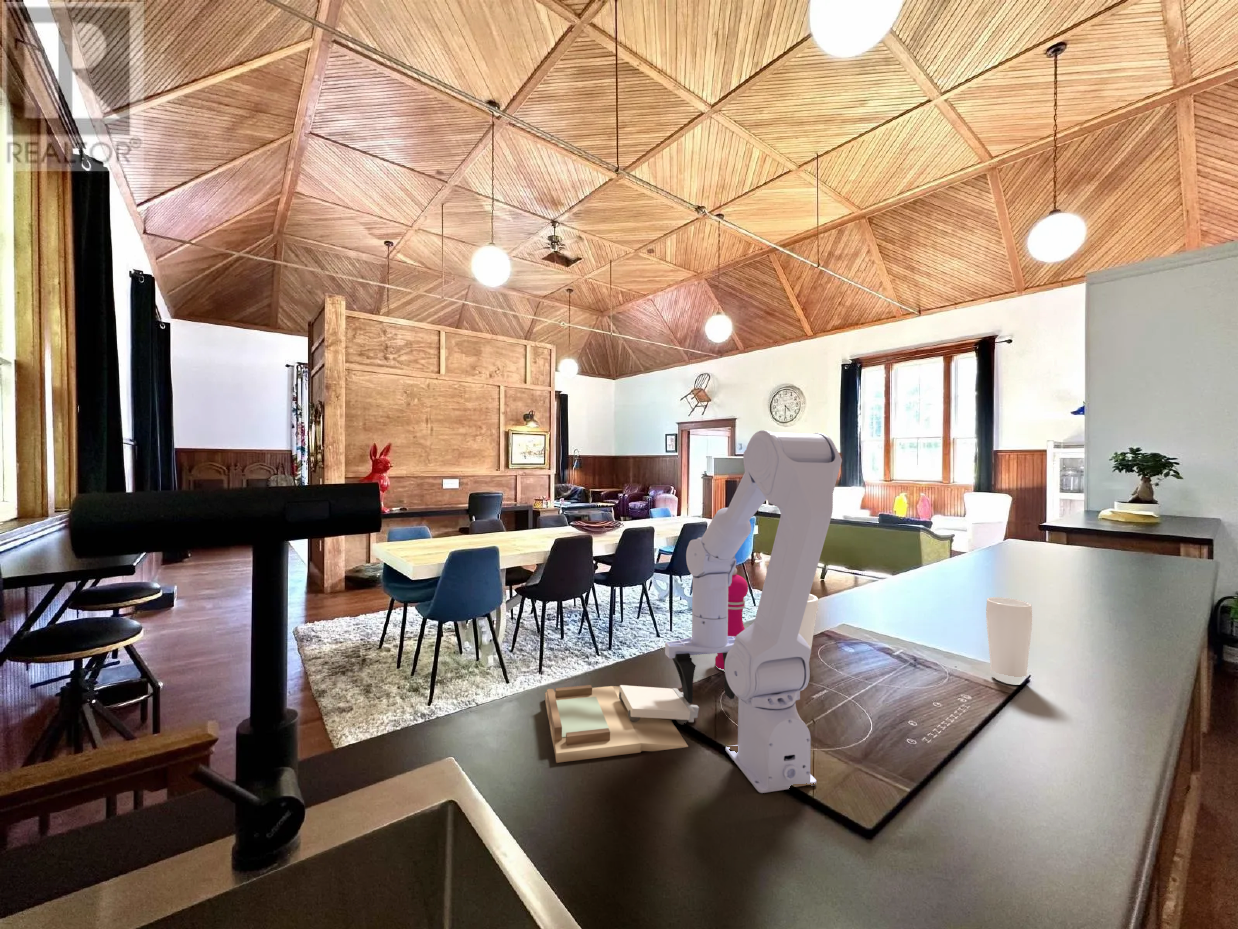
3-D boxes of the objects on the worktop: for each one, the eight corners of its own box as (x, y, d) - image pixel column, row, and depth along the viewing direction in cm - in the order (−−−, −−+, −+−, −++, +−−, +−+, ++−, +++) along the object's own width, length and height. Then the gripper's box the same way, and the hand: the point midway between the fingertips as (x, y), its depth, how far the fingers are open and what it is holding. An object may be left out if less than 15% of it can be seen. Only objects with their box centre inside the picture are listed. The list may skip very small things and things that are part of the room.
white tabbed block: (700, 727, 74) (702, 712, 74) (628, 724, 71) (631, 707, 72) (681, 703, 82) (683, 688, 82) (616, 699, 79) (618, 684, 79)
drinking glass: (1041, 689, 88) (1042, 607, 88) (1003, 688, 88) (1004, 606, 89) (1012, 674, 95) (1012, 597, 95) (977, 673, 95) (977, 596, 95)
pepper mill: (751, 677, 92) (752, 571, 92) (712, 673, 93) (713, 569, 93) (749, 662, 99) (750, 564, 99) (712, 659, 100) (714, 562, 100)
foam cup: (809, 671, 95) (809, 604, 95) (762, 659, 100) (763, 596, 100) (822, 657, 102) (823, 595, 102) (778, 647, 108) (779, 588, 108)
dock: (688, 753, 68) (688, 724, 68) (556, 770, 64) (556, 739, 64) (650, 695, 86) (650, 672, 86) (544, 705, 81) (545, 681, 81)
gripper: (739, 605, 84) (738, 683, 84) (659, 609, 81) (658, 691, 81) (760, 617, 77) (759, 702, 77) (674, 622, 74) (672, 711, 74)
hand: (708, 698), depth 79 cm, fingers open, 7 cm apart
